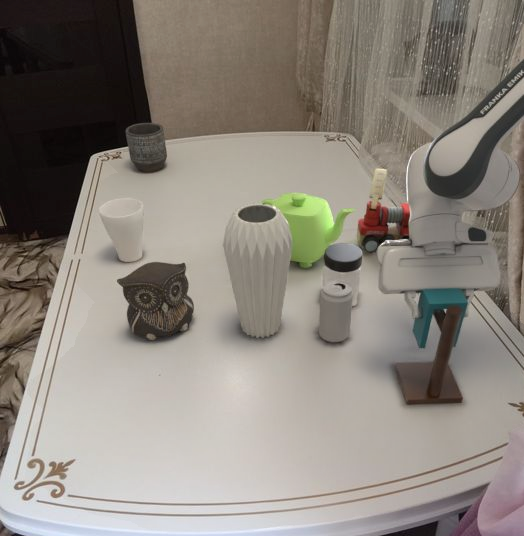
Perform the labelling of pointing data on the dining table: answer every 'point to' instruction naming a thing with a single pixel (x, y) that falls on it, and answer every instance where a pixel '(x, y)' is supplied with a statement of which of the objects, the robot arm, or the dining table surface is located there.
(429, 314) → the clip
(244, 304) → the vase
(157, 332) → the figurine
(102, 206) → the cup
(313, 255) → the teapot
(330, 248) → the jar
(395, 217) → the toy fire truck
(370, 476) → the dining table surface
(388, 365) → the dining table surface
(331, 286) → the beverage can
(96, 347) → the dining table surface
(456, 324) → the peg stand
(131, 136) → the planter
